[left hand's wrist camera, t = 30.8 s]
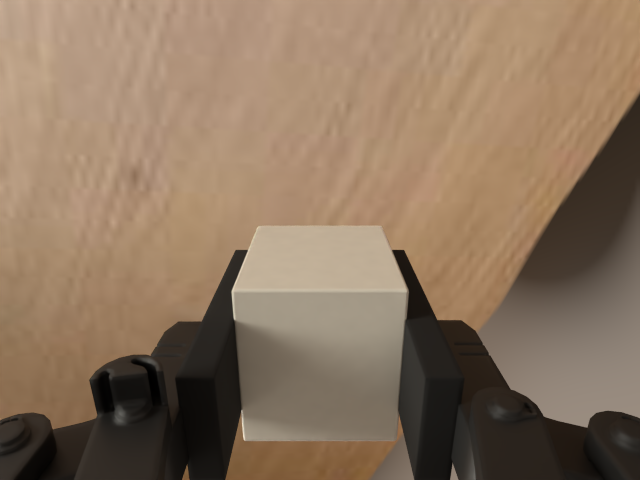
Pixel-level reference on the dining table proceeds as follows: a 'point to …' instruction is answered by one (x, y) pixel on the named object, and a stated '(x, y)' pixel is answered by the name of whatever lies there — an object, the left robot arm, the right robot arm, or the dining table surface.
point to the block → (320, 334)
